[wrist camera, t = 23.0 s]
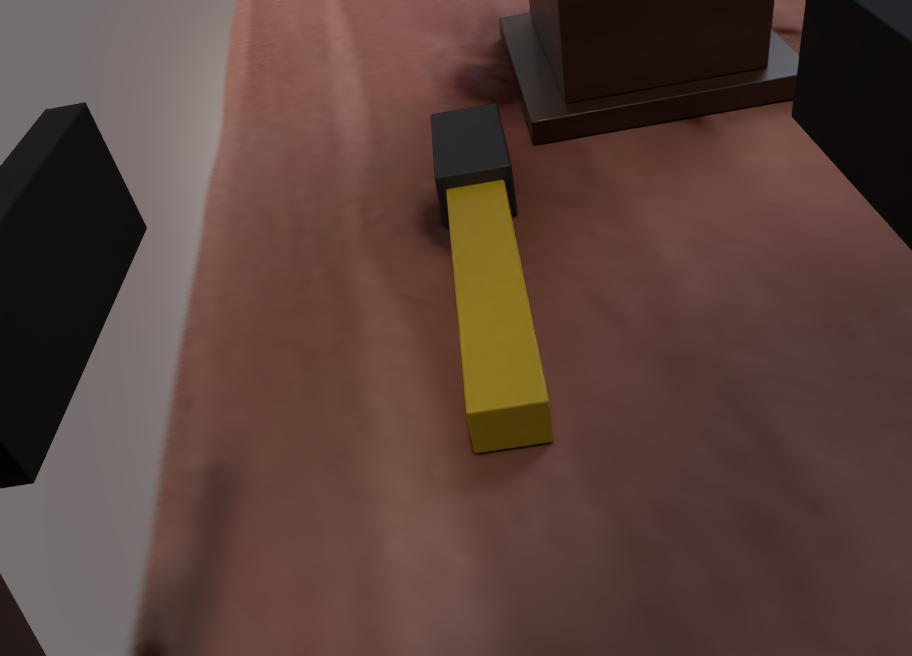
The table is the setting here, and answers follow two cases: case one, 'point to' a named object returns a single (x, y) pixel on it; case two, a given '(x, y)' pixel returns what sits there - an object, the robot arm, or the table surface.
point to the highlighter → (489, 282)
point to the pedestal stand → (642, 62)
